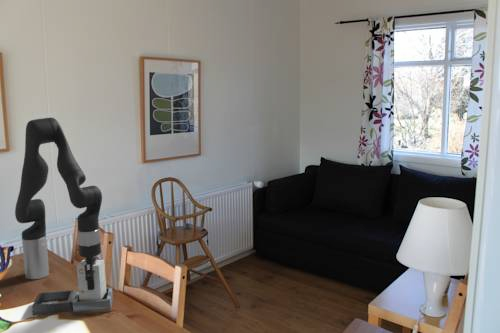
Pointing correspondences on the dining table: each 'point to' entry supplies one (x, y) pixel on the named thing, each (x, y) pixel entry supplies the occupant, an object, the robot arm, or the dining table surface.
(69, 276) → the dining table surface
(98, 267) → the small box
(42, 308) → the socket
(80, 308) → the frame
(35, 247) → the robot arm
